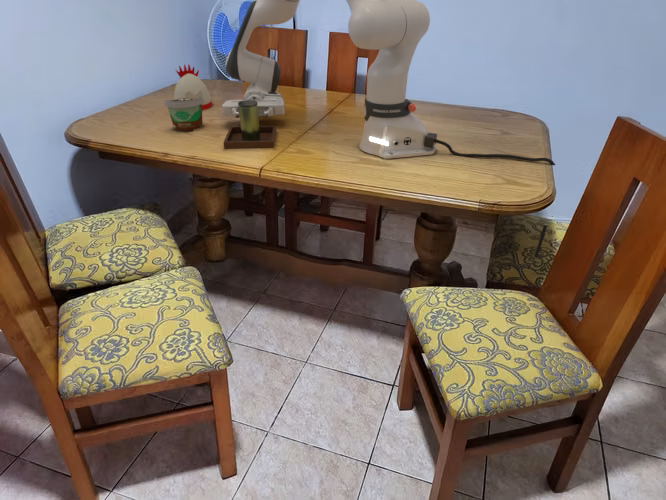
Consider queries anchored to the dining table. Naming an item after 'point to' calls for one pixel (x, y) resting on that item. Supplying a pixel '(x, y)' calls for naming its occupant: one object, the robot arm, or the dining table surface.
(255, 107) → the tin canister
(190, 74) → the kitchen timer
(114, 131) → the dining table surface
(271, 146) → the tray
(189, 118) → the food container
